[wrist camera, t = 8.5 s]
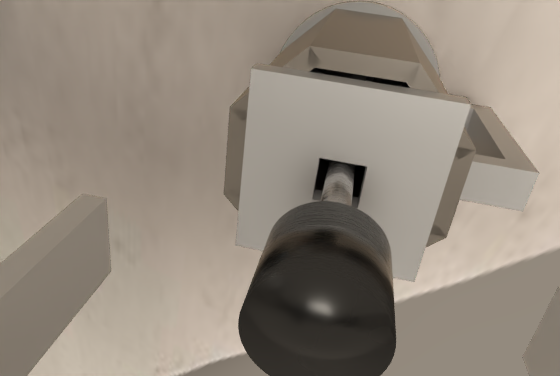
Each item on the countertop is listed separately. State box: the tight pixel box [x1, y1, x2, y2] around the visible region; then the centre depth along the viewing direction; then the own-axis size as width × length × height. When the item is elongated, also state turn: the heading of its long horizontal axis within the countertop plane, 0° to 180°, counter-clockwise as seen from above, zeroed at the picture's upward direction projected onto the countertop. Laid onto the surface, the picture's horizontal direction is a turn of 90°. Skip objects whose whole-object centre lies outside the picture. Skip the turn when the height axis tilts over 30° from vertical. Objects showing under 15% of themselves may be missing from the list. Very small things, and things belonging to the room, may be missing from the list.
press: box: [224, 1, 539, 282], centre depth 27 cm, size 14×12×16 cm
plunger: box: [238, 68, 410, 376], centre depth 21 cm, size 8×8×20 cm
